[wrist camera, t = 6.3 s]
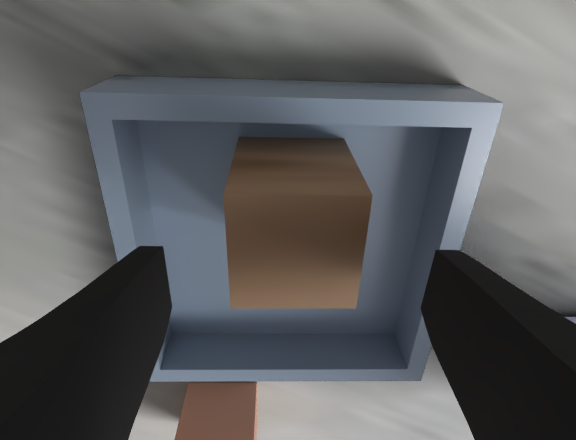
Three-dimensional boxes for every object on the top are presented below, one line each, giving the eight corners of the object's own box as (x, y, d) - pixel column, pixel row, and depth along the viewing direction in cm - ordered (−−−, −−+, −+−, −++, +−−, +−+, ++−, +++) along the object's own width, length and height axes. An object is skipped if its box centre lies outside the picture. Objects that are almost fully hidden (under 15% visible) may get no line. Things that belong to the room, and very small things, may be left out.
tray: (463, 85, 15) (504, 103, 12) (402, 333, 21) (420, 380, 18) (115, 75, 14) (79, 92, 12) (161, 333, 21) (144, 381, 18)
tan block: (335, 228, 17) (356, 308, 12) (242, 227, 17) (230, 308, 12) (344, 138, 15) (372, 195, 10) (238, 136, 15) (223, 193, 10)
